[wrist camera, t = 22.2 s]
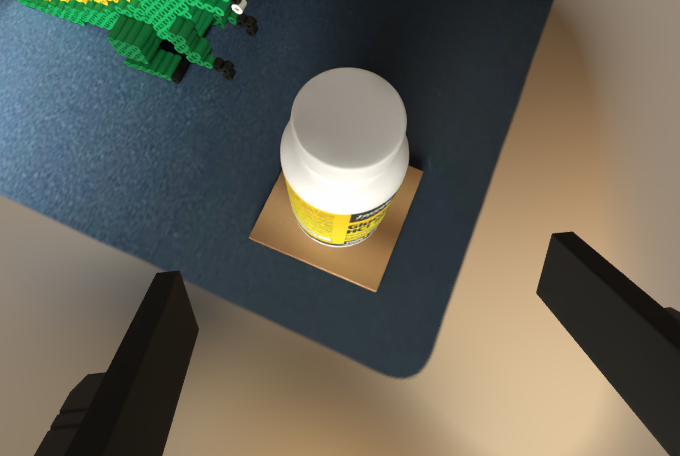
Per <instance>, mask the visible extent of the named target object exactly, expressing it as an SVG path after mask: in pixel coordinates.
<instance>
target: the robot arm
mask: <svg viewBox="0 0 680 456" xmlns="http://www.w3.org/2000/svg"><path fill="white" fill-rule="evenodd" d="M536 293H537V295H538V296H539V297H540V298H541V299H542V301H543V302H544V303H545V304H546V306H548V308H549V309H550V310H551V312H552V313H553V314H554V315H555V317H556V318H557V319H558V320H559V321H560V323H561V324H562V325H563V326H564V327H565V329H566V330H567V331H568V332H569V334H570V335H571V336H572V337H573V338H574V340H575V341H576V342H577V343H578V344H579V346H580V347H581V348H582V349H583V351H584V352H585V353H586V354H587V355H588V356H589V358H590V359H591V360H592V362H593V363H594V364H595V365H596V366H597V368H598V369H599V370H600V371H601V373H602V374H603V375H604V376H605V377H606V379H607V380H608V381H609V382H610V384H611V385H612V386H613V387H614V388H615V390H616V391H617V392H618V393H619V394H620V396H621V397H622V398H623V399H624V401H625V402H626V403H627V404H628V405H629V407H630V408H631V409H632V410H633V412H634V413H635V414H636V415H637V416H638V418H639V419H640V420H641V421H642V423H643V424H644V425H645V426H646V427H647V428H648V430H649V431H650V432H651V433H652V435H653V436H654V437H655V438H656V439H657V441H658V442H659V443H660V444H661V446H662V447H663V448H664V449H665V450H666V452H667V453H668V454H669V455H670V456H680V312H679V311H677V310H675V309H673V308H671V307H668V308H663V307H662V306H661V305H660V304H658V303H657V302H656V301H655V300H653V299H652V298H651V297H650V296H649V295H648V294H646V293H645V292H644V291H643V290H642V289H640V288H639V287H638V286H637V285H636V284H634V283H633V282H632V281H631V280H629V278H627V277H626V276H625V275H624V274H623V273H621V272H620V271H619V270H618V269H617V268H615V267H614V266H613V265H612V264H610V263H609V262H608V261H607V260H606V259H604V258H603V257H602V256H601V255H600V254H599V253H598V252H596V251H595V250H594V249H593V248H591V247H590V246H589V245H588V244H586V242H584V241H583V240H582V239H581V238H580V237H578V236H577V235H576V234H575V233H574V232H564V233H553V234H552V236H551V239H550V243H549V247H548V251H547V254H546V258H545V262H544V266H543V269H542V273H541V277H540V280H539V284H538V288H537V292H536ZM198 331H199V329H198V325H197V322H196V319H195V316H194V313H193V310H192V307H191V304H190V301H189V298H188V295H187V292H186V289H185V286H184V282H183V279H182V276H181V273H180V271H171V272H161V273H156V275H155V277H154V279H153V281H152V283H151V285H150V287H149V289H148V291H147V293H146V295H145V297H144V299H143V301H142V303H141V305H140V307H139V309H138V311H137V313H136V315H135V317H134V319H133V321H132V322H131V324H130V326H129V329H128V330H127V332H126V334H125V336H124V338H123V340H122V342H121V344H120V346H119V348H118V350H117V352H116V354H115V356H114V358H113V360H112V362H111V364H110V366H109V368H108V370H107V372H105V373H96V374H88V375H87V376H86V377H85V378H84V379H83V380H82V381H81V382H80V383H79V384H78V385H77V386H76V387H75V388H74V389H73V390H72V391H71V392H70V393H69V395H68V397H67V399H66V400H65V402H64V404H63V406H62V408H61V409H60V414H59V415H57V416H56V418H55V420H54V421H53V423H52V425H51V429H50V431H48V432H47V434H46V435H45V437H44V439H43V441H42V442H41V444H40V446H39V448H38V450H37V451H36V453H35V455H34V456H162V455H163V451H164V448H165V444H166V441H167V437H168V434H169V431H170V427H171V424H172V421H173V417H174V413H175V410H176V407H177V403H178V400H179V396H180V393H181V390H182V386H183V383H184V379H185V376H186V372H187V369H188V366H189V362H190V358H191V355H192V351H193V348H194V345H195V341H196V338H197V334H198Z"/></svg>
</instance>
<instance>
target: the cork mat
mask: <svg viewBox="0 0 680 456" xmlns="http://www.w3.org/2000/svg"><path fill="white" fill-rule="evenodd" d="M422 175H423V171H421V170H418V169H416V168H414V167H411V166H409V165H408V168H407V171H406V174H405V177H404V180H403V182H402V184H401V186H400V188H399V190H398V191H397V193H396V195H395V197H394V199H393V201H392V203H391V204H390V206H389V208H388V210H387V212H386V214H385V216H384V217H383V219H382V221H381V223H380V225H379V226H378V228H377V229H376V230H375V231H374V232H373V233H372V234H371V235H370V236H369V237H368V238H366V239H365V240H363V241H362V242H360V243H358V244H355V245H352V246H347V247H331V246H327V245H323V244H321V243H318V242H316V241H315V240H313V239H312V238H310V237H309V236H308V235H307V234H306V233H305V232H304V231H303V230H302V229H301V228H300V226H299V224H298V223H297V221H296V219H295V216H294V213H293V210H292V206H291V202H290V198H289V193H288V190H287V185H286V181H285V177H284V174H283V169H282V171H281V174H280V176H279V178H278V180H277V182H276V184H275V186H274V188H273V190H272V192H271V194H270V196H269V198H268V200H267V202H266V204H265V206H264V208H263V210H262V212H261V214H260V216H259V218H258V220H257V222H256V224H255V226H254V228H253V230H252V232H251V234H250V236H249V238H250V239H251V240H253V241H256V242H258V243H260V244H263V245H265V246H267V247H270V248H272V249H274V250H277V251H279V252H281V253H284V254H286V255H288V256H291V257H293V258H295V259H298V260H300V261H303V262H305V263H307V264H310V265H312V266H314V267H317V268H319V269H321V270H324V271H326V272H328V273H331V274H333V275H335V276H338V277H340V278H342V279H345V280H347V281H349V282H352V283H354V284H356V285H359V286H361V287H364V288H366V289H368V290H371V291H373V292H376V291H377V289H378V287H379V284H380V281H381V279H382V276H383V274H384V271H385V269H386V266H387V264H388V261H389V259H390V256H391V253H392V251H393V248H394V246H395V243H396V241H397V238H398V236H399V233H400V231H401V228H402V225H403V223H404V220H405V218H406V215H407V213H408V210H409V208H410V205H411V203H412V200H413V198H414V195H415V192H416V190H417V187H418V185H419V182H420V180H421V177H422Z"/></svg>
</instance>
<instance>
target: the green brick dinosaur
mask: <svg viewBox="0 0 680 456" xmlns="http://www.w3.org/2000/svg"><path fill="white" fill-rule="evenodd" d="M17 1H18V2H20V3H21V4H23V5H28V6H29V7H31V8H33V7H34V8H35V9H37V10H42V11H43V12H45V13H48V12H49V13H50V14H52V15H54V16H55V15H57V16H58V17H60V18H65V19H66V20H68V21H70V20H71V21H73V22H74V23H79V24H81V25H82V26H85V25H86V23H87V22H89V23H91V24H93V25H95V24H96V25H97V26H99V27H101V28H102V27H104V28H106V29H107V30H111V31H110V32H109V34H108V36H107V39H108V40H109V41H110V42H111V45H112V46H113V47H114V48H116V52H117V53H119V54H120V55H122V56H125V55H126V56H127V58H126V60H125V64H126V65H128V66H129V67H132V68H133V67H134V68H136V69H138V70H143V71H144V72H147V73H148V72H149V73H151V74H152V75H157V76H159V77H161V78H165V79H167V80H169V81H171V80H172V81H174V82H175V83H178V84H179V83H180V81H181V79H182V77H183V76H184V74H185V72H186V70H187V68H188V66H189V65H190V63H191V62H193V63H195V62H196V63H197V64H199V65H201V66H204V65H205V66H206V67H208V68H210V69H212V68H214V69H215V70H216V71H218V72H221V71H222V72H223V73H224V75H223V76H224V77H225V78H226V79H227V80H230V81H231V80H232V79H233V77H234V75H235V73H236V71H235V70H234V69H233V67H234V65H233V64H232V63H231V62H230V61H227V60H226V61H224V60H223V59H221V58H219V57H217V58H215V57H214V56H212V55H210V53H211V51H212V48H211V47H210V46H209V41H208V40H207V39H206V38H204V37H205V36H206V34H207V32H208V30H209V28H210V27H211V25H213V26H215V25H217V26H218V27H220V28H222V29H223V28H224V27H225V25H226V23H227V22H228V20H229V22H230V23H232V24H236V23H237V24H238V25H239V26H240V27H244V26H245V27H246V28H247V30H246V32H247V34H248V35H250V36H252V37H254V36H255V34H256V32H257V30H258V26H257V25H256V22H257V20H256V19H255V18H254V17H253V16H247V15H246V14H244V13H242V12H243V10H244V8H245V7H246V5H247V2H246V0H17ZM231 2H232V3H233V5H232V9H233V10H232V11H231V10H230V9H229V6H230V4H231ZM163 39H167V40H168V41H170V42H172V43H173V44H174V45H175V46H174V48H175V50H176V51H178V52H179V53H185V54H186V55H187V56H186V57H181V56H179V55H177V54H175V55H174V54H173V53H171V52H166V51H164V50H163V49H158V47H159V45H160V43H161V42H162V40H163Z"/></svg>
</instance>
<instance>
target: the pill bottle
mask: <svg viewBox="0 0 680 456" xmlns="http://www.w3.org/2000/svg"><path fill="white" fill-rule="evenodd" d="M406 125H407V117H406V111H405V107H404V104H403V101H402V99H401V97H400V96H399V94H398V93H397V91H396V90H395V89H394V88H393V86H392V85H391V84H389V83H388V82H387V81H386V80H385V79H383V78H382V77H380V76H378V75H377V74H375V73H372V72H369V71H367V70H363V69H359V68H336V69H332V70H328V71H325V72H323V73H321V74H319V75H317V76H315V77H313V78H312V79H311V80H310V81H308V82H307V83H306V84H305V85H304V86H303V87H302V89H301V90H300V91H299V93H298V94H297V96H296V98H295V100H294V103H293V107H292V111H291V119H290V121H289V122H288V124H287V126H286V128H285V130H284V133H283V136H282V140H281V149H280V156H281V165H282V169H283V174H284V177H285V181H286V185H287V190H288V193H289V198H290V202H291V206H292V210H293V213H294V216H295V219H296V221H297V223H298V224H299V226H300V228H301V229H302V230H303V231H304V232H305V233H306V234H307V235H308V236H309V237H310V238H312V239H313V240H315V241H316V242H318V243H321V244H323V245H327V246H331V247H347V246H352V245H355V244H358V243H360V242H362V241H363V240H365V239H366V238H368V237H369V236H370V235H371V234H372V233H373V232H374V231H375V230H376V229H377V228H378V226H379V225H380V223H381V221H382V219H383V217H384V216H385V214H386V212H387V210H388V208H389V206H390V204H391V203H392V201H393V199H394V197H395V195H396V193H397V191H398V190H399V188H400V186H401V184H402V182H403V180H404V177H405V174H406V171H407V168H408V163H409V146H408V141H407V137H406V134H405V132H406Z"/></svg>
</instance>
